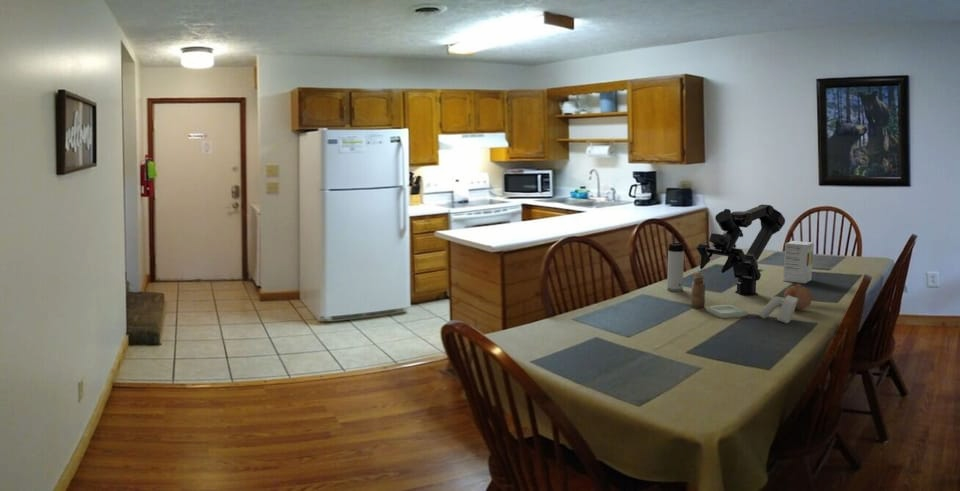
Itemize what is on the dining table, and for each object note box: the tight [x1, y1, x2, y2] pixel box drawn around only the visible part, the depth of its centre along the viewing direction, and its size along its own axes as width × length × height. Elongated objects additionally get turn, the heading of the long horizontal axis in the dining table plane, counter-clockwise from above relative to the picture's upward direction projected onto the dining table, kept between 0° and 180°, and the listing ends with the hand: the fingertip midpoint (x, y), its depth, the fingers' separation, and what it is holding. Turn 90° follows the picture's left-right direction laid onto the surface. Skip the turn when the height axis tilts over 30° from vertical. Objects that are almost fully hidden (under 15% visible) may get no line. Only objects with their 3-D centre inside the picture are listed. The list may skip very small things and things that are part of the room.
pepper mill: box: [690, 271, 706, 310], centre depth 257 cm, size 5×5×14 cm
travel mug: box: [666, 241, 686, 293], centre depth 285 cm, size 6×7×20 cm
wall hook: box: [758, 295, 798, 324], centre depth 239 cm, size 8×10×10 cm
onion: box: [783, 283, 813, 311], centre depth 251 cm, size 10×9×10 cm
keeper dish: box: [705, 304, 748, 319], centre depth 248 cm, size 10×10×2 cm
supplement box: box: [782, 240, 815, 284], centre depth 299 cm, size 10×9×17 cm
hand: (711, 270), depth 261 cm, fingers open, 9 cm apart
